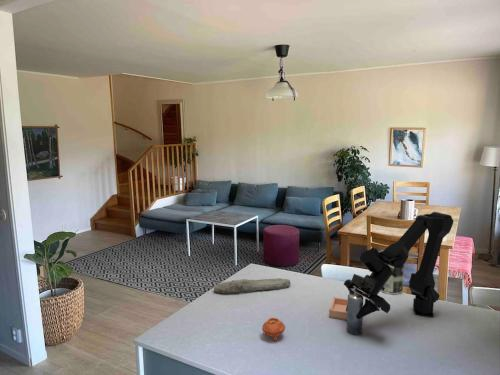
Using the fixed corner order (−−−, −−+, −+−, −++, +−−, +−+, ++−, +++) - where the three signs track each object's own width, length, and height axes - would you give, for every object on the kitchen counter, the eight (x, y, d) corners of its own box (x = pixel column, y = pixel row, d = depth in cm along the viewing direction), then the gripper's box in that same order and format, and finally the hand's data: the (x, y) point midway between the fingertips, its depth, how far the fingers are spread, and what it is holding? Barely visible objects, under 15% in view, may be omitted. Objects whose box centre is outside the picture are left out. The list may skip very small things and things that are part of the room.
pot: (290, 339, 126) (285, 322, 125) (268, 347, 125) (263, 330, 124) (283, 327, 134) (278, 310, 132) (262, 334, 133) (258, 318, 131)
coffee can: (400, 285, 169) (401, 255, 167) (404, 295, 159) (406, 263, 157) (376, 284, 172) (377, 254, 169) (379, 293, 162) (380, 262, 159)
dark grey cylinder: (362, 329, 133) (363, 293, 131) (361, 336, 128) (362, 300, 126) (347, 326, 135) (348, 291, 133) (346, 334, 130) (347, 297, 128)
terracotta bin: (363, 308, 148) (363, 301, 148) (361, 322, 138) (361, 314, 137) (333, 304, 152) (333, 297, 152) (329, 317, 142) (329, 310, 141)
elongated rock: (293, 293, 167) (286, 285, 176) (294, 281, 166) (287, 274, 176) (215, 296, 160) (212, 288, 169) (215, 284, 159) (213, 277, 169)
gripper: (348, 258, 138) (322, 291, 135) (385, 275, 121) (357, 314, 118) (364, 274, 142) (340, 307, 140) (402, 294, 125) (375, 332, 123)
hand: (351, 314), depth 130 cm, fingers closed on dark grey cylinder, 5 cm apart
